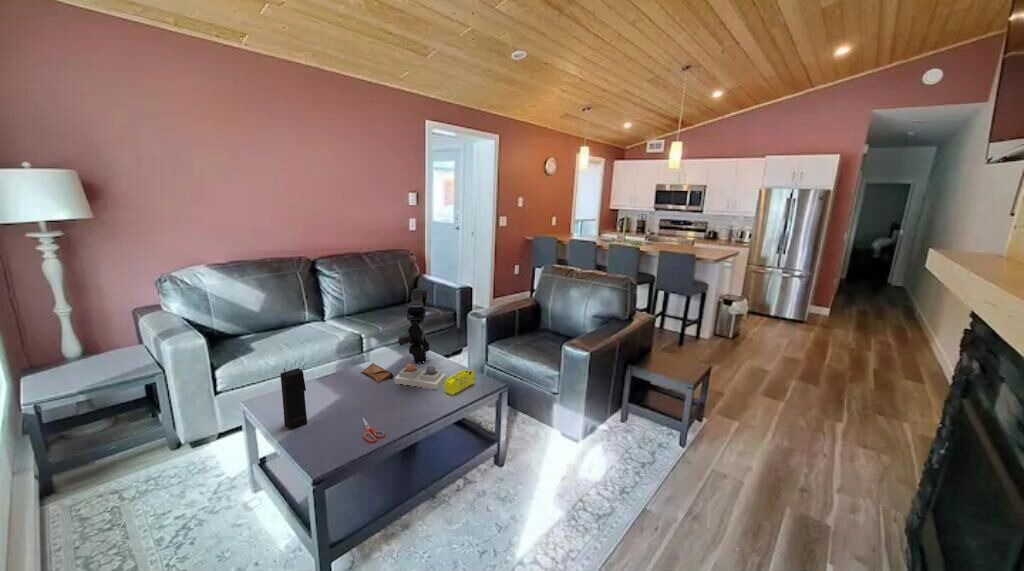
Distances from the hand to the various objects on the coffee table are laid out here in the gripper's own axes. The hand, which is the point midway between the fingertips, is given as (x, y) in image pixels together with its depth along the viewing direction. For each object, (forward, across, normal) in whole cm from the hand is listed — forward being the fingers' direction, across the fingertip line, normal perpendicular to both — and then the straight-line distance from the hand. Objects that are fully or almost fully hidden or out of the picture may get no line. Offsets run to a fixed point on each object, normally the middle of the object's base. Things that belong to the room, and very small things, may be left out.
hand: (416, 359), depth 202 cm
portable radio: (+12, +31, -46) cm, 57 cm away
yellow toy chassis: (+13, +8, +20) cm, 25 cm away
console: (+12, -2, +2) cm, 12 cm away
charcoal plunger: (+7, +1, +7) cm, 10 cm away
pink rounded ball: (+7, -4, -3) cm, 9 cm away
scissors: (+13, +38, -18) cm, 44 cm away
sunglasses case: (+13, -11, -21) cm, 27 cm away
